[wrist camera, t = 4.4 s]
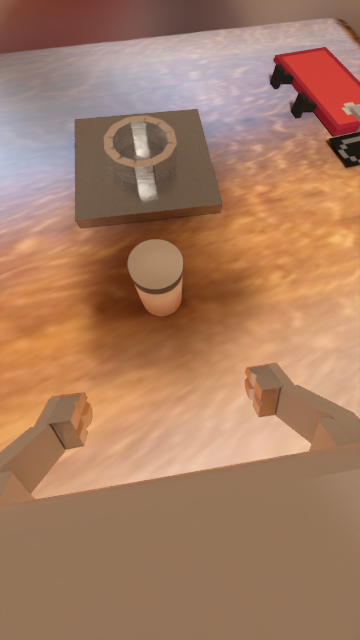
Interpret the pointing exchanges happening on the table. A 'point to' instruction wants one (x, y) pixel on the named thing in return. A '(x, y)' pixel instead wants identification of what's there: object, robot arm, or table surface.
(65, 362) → the table surface
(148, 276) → the banded peg cylinder
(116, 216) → the ring mount
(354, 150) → the red board with handle
